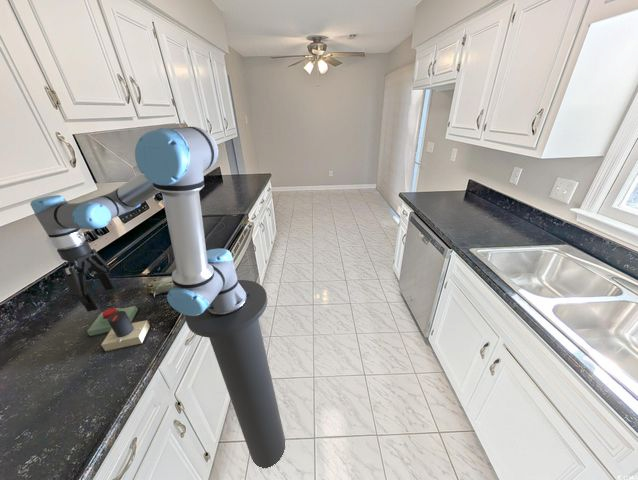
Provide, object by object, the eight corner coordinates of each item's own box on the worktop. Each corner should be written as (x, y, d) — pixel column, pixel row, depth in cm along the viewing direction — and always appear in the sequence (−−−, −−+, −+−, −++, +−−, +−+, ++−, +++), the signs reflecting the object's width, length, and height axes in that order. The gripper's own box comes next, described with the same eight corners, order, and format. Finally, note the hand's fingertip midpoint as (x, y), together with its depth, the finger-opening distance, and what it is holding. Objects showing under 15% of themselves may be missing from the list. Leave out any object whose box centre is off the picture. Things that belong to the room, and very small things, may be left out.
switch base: (138, 310, 101) (134, 302, 99) (127, 328, 92) (123, 320, 90) (103, 316, 98) (99, 308, 97) (89, 336, 90) (84, 327, 88)
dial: (120, 328, 88) (111, 311, 85) (136, 324, 89) (128, 308, 86) (113, 338, 84) (103, 322, 80) (130, 335, 84) (121, 318, 81)
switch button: (119, 310, 96) (117, 306, 95) (114, 317, 92) (112, 313, 91) (107, 312, 95) (105, 309, 94) (102, 320, 91) (100, 316, 91)
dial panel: (150, 325, 93) (147, 318, 91) (141, 344, 85) (137, 337, 83) (117, 332, 91) (113, 325, 89) (104, 352, 82) (99, 345, 81)
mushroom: (146, 298, 107) (141, 288, 105) (156, 285, 116) (151, 275, 113) (181, 294, 108) (177, 283, 106) (188, 281, 117) (185, 271, 115)
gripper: (61, 260, 71) (96, 319, 80) (103, 228, 92) (127, 278, 101) (29, 265, 69) (69, 324, 79) (79, 231, 90) (106, 282, 100)
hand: (102, 298), depth 90 cm, fingers open, 11 cm apart
